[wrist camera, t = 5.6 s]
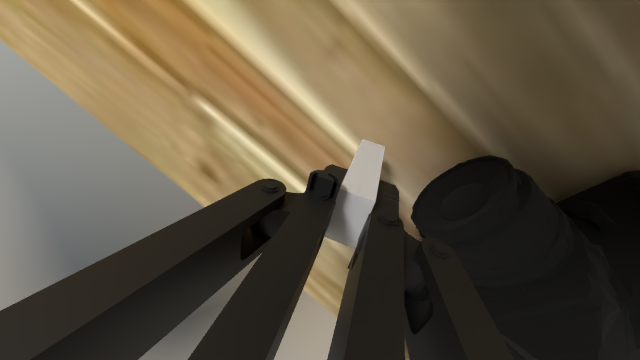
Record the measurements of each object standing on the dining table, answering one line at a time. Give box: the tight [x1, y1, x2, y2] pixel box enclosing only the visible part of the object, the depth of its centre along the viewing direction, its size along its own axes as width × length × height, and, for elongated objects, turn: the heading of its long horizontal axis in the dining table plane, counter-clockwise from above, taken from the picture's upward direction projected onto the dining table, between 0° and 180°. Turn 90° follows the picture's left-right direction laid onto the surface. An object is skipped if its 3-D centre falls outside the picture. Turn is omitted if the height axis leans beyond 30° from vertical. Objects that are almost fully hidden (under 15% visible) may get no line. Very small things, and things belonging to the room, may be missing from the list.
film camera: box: [411, 155, 640, 360], centre depth 12 cm, size 15×10×9 cm, turn 137°
